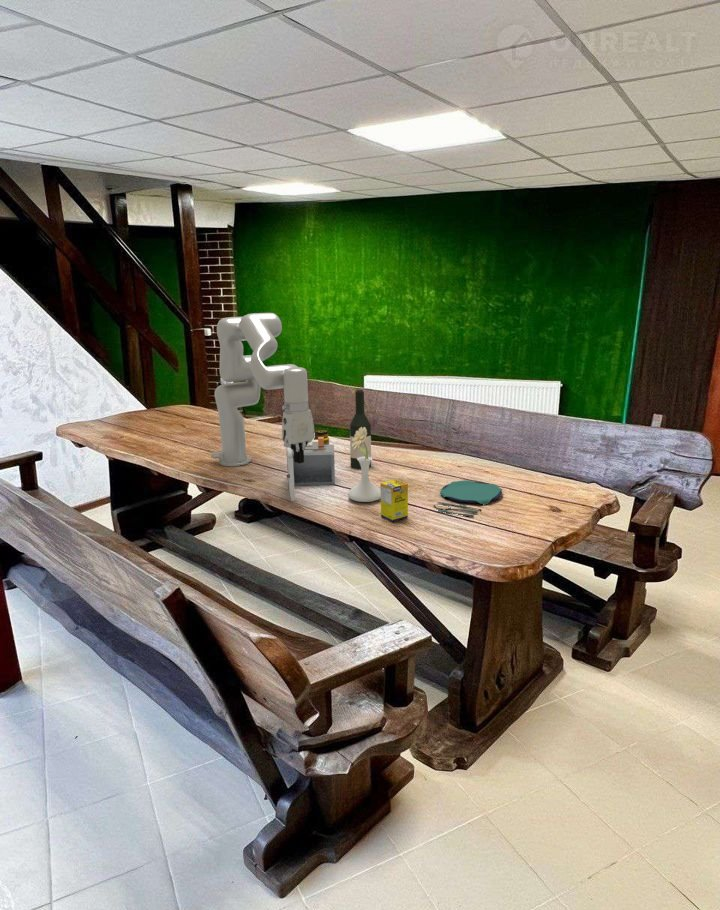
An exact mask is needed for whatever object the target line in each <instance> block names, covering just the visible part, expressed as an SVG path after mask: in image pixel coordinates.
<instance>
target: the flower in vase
mask: <svg viewBox="0 0 720 910" xmlns="http://www.w3.org/2000/svg"><path fill="white" fill-rule="evenodd" d="M366 432H367V430H366V428H365V427H364V428H363V429H362V427H361V428H359V431H356V434H355V435H354V436H355V437H354V438H353V439H352V441H354V442H353V443H352V447H354V448H353V450H354V449H355V450H356V449H359V448H360V447H361V448H360V452H361V453H363V454H364V455H366V456H365V457H359V458H357V460H358V461H359V463H360V465H361V469H360V470H361V479H360V481H359V482H358V483H356V484H355V485H354V486H353V487H352V488H350V490H349V491H348V493H347V497H348V498H349V499H350V500H352V501H356V502H360V503H370V502H374V501H378V500H381V488H379V486H377V485H376V484H374V483H373V482H372V481H371V480H370V477H369V473H370V472H369V465H370V462H371V463H372V461H373V457H372V456H371V457H368V453H369V451H368V452H367V447H366V444H365V442H364V441H365V438H366V435H367V433H366ZM363 443H364V445H365V447H366V450H365V449H364V448H363V447H362V446H361V445H362V444H363Z"/></svg>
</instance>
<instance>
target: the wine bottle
mask: <svg viewBox="0 0 720 910" xmlns="http://www.w3.org/2000/svg"><path fill="white" fill-rule="evenodd" d="M354 393H355V396H354V397H355V413H354V416H353V417H352V418H351V421H350V423H349V443H350V444H349V450H350V456H349V457H350V468H351V469H356V470H361V465H360V463H359V461H358V460H357V458H359V457H365V456H366V455H364V454H363V453H361V452H360V448H361V447H360V448H359V449H356V450H355V449H354V450H353V448H354V447H352V443H353V442H354V441H352V439H353V438H354V437H355V436H354V435H355V434H356V431H359V428H361V427H362V429H363V428H364V427H365V428H366V430H367V432H366V433H367V435H366V438H365V441H364V442H365V444H366V447H367V452H368V451H369V453H368V457H371V458H372V444H371V443H372V436H371V435H372V426H371V422H370V420H369V419H368V417H367V416H366V414H365V391H364V389H363V388H357V389H356V391H355V392H354ZM361 446H362V447H363V448H364V449H365V450H366V447H365V445H364V443H363V444H362V445H361ZM369 467H370V468H372V461H371V462H370V465H369Z"/></svg>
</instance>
